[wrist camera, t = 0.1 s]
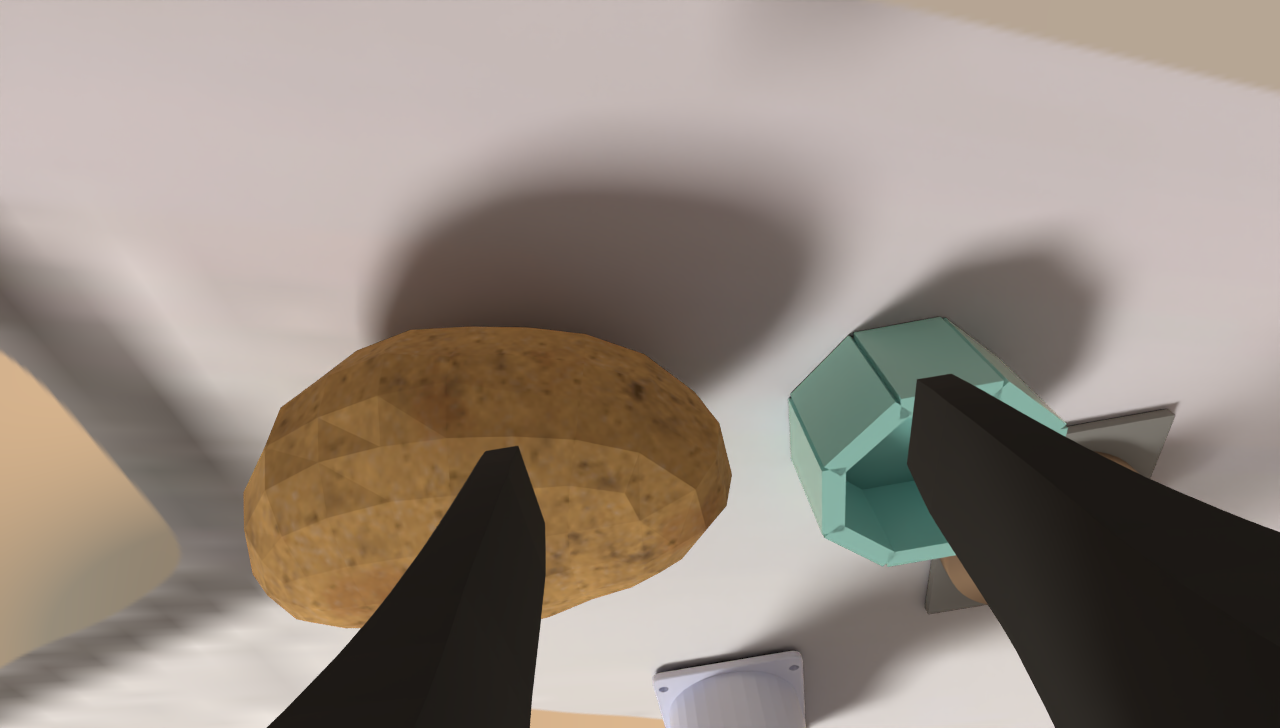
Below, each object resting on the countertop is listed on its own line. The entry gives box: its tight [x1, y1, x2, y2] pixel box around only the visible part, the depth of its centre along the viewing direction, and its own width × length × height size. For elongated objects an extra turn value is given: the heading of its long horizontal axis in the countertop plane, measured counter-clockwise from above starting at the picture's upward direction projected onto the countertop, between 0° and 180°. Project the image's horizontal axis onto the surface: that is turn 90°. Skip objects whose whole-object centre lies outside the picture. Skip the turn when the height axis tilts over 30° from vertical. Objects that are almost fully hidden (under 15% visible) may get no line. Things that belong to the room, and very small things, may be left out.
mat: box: [925, 409, 1175, 614], centre depth 28 cm, size 11×9×1 cm
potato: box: [244, 327, 732, 628], centre depth 19 cm, size 10×14×8 cm
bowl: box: [788, 317, 1068, 567], centre depth 23 cm, size 8×8×4 cm
